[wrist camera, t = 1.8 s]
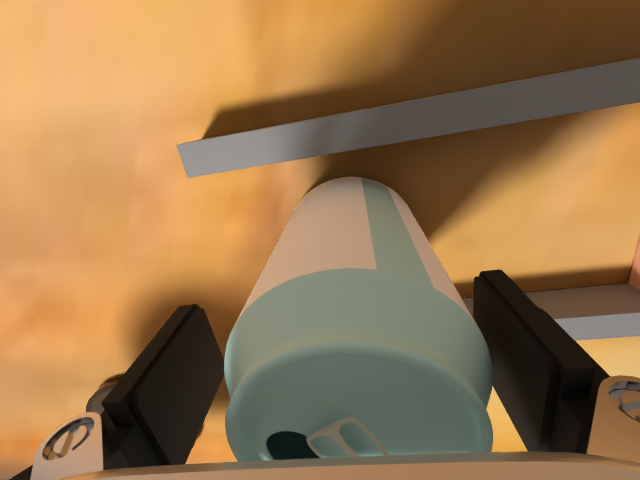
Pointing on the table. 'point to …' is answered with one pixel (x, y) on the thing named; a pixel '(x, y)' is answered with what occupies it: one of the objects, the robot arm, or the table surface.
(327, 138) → the track
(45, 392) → the table surface
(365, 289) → the can
